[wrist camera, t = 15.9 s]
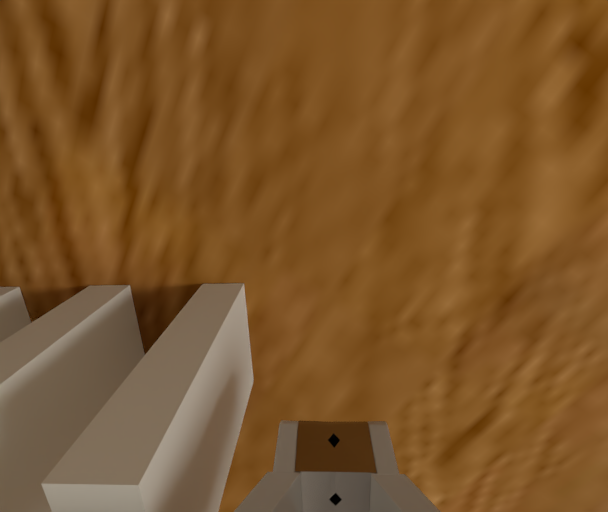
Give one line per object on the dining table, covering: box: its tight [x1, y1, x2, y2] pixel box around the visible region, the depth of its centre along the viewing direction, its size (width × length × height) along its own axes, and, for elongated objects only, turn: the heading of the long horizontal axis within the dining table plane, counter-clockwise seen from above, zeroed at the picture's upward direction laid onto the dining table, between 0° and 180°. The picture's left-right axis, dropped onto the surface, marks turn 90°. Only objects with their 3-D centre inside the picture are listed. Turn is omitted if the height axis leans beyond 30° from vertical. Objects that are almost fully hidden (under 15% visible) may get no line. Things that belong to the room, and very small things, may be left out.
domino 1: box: [0, 285, 145, 512], centre depth 11 cm, size 5×2×9 cm, turn 2°
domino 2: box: [41, 283, 254, 512], centre depth 11 cm, size 5×2×9 cm, turn 2°
